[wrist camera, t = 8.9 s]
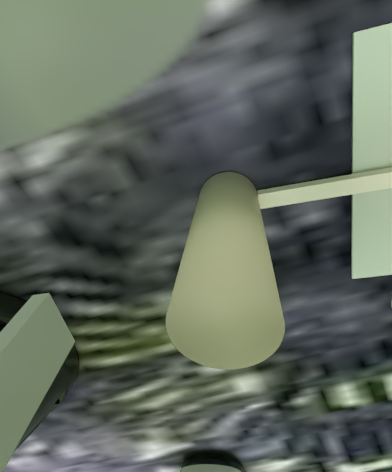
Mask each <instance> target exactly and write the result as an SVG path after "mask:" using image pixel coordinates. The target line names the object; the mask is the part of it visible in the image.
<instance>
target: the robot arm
mask: <svg viewBox="0 0 392 472" xmlns="http://www.w3.org/2000/svg"><path fill="white" fill-rule="evenodd" d="M391 307H392V302H391ZM74 343H75V340H74V338H73V336H72V334H71V332H70V331H69V329H68V327H67V325H66V323H65V321H64V319H63V318H62V316H61V314H60V312H59V310H58V308H57V306H56V305H55V303H54V301H53V299H52V297H51V295H50V293H45V294H38V295H32V297H31V298H30V299H29V300H28V301H27V302H25V301H22V300H20V299H18V298H15V297H13V296H10V295H7V294H3V293H0V472H3V470H4V468H5V466H6V465H7V463H8V461H9V459H10V457H11V456H12V454H13V452H14V451H15V450H16V449H17V448H18V447H19V446H20V445H21V444H22V443H23V442H24V441H25V440H26V438H27V437H28V436H29V435H30V434H31V433H32V432H33V431H34V430H35V429H36V428H37V427H38V426H39V424H40V423H41V422H42V421H43V420H44V419H45V417H46V416H47V415H48V413H49V412H51V411H53V410H54V409H55V408H56V407H57V406H58V405H59V404H60V403H61V402H62V401H63V400H64V398H65V397H66V395H67V394H68V392H69V390H70V388H71V386H72V384H73V382H74V380H75V378H76V376H77V373H78V368H79V362H78V356H77V353H76V350H75V347H74Z"/></svg>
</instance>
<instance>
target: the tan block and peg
mask: <svg viewBox="0 0 392 472" xmlns="http://www.w3.org/2000/svg"><path fill="white" fill-rule="evenodd" d="M389 188H392V167H390V168H384V169H379V170H373V171H367V172H361V173H355V174H350V175H344V176H338V177H332V178H327V179H321V180H315V181H309V182H303V183H298V184H292V185H286V186H280V187H275V188H269V189H263V190H257V191H256V189H255V187H254V185H253V184H252V182H251V181H250V180H249V179H248V178H246V177H245V176H243V175H241V174H239V173H235V172H222V173H219V174H216V175H214V176H212V177H211V178H209V179H208V180H207V181H206V182H205V184H204V185H203V187H202V188H201V191H200V194H199V198H198V201H197V205H196V209H195V212H194V216H193V220H192V223H191V227H190V231H189V234H188V238H187V241H186V245H185V249H184V252H183V256H182V260H181V263H180V267H179V271H178V274H177V278H176V281H175V285H174V289H173V292H172V296H171V300H170V303H169V307H168V311H167V314H166V322H165V323H166V330H167V334H168V336H169V338H170V340H171V342H172V343H173V345H174V346H175V347H176V349H177V350H178V351H180V352H181V353H182V354H183V355H184V356H186V357H187V358H189V359H190V360H192V361H194V362H196V363H198V364H201V365H204V366H207V367H211V368H217V369H241V368H246V367H250V366H253V365H255V364H258V363H260V362H262V361H264V360H265V359H267V358H268V357H270V356H271V355H272V354H273V353H274V352H275V351H276V350H277V348H278V347H279V346H280V344H281V342H282V340H283V337H284V332H285V322H284V318H283V313H282V308H281V303H280V299H279V294H278V289H277V285H276V280H275V275H274V271H273V266H272V261H271V257H270V252H269V247H268V243H267V238H266V233H265V228H264V224H263V219H262V214H261V210H260V209H264V208H271V207H277V206H283V205H289V204H295V203H302V202H308V201H314V200H320V199H326V198H333V197H339V196H345V195H351V194H358V193H364V192H370V191H376V190H382V189H389ZM257 195H258V196H257Z"/></svg>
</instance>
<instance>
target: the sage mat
mask: <svg viewBox="0 0 392 472" xmlns="http://www.w3.org/2000/svg"><path fill="white" fill-rule="evenodd" d="M390 167H392V23H390V24H386V25H382V26H378V27H374V28H370V29H366V30H362V31H358V32H354V33H352V174H355V173H361V172H367V171H373V170H379V169H384V168H390ZM383 275H392V188H389V189H382V190H376V191H370V192H364V193H358V194H352V216H351V278H352V279H356V278H365V277H374V276H383Z"/></svg>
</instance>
